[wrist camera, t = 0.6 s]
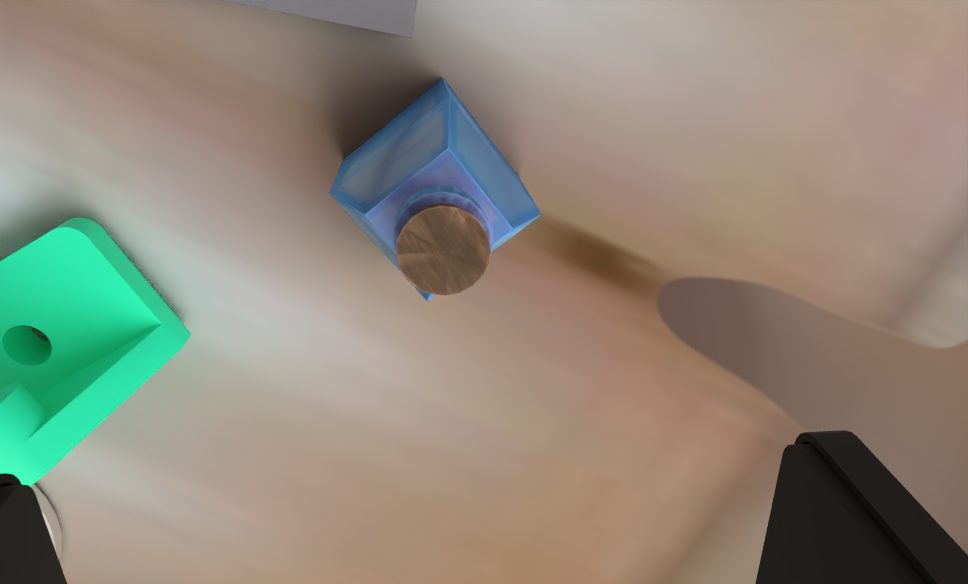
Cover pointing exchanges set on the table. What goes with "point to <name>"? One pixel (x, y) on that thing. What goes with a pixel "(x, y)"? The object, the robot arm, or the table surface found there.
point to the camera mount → (73, 342)
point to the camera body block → (349, 12)
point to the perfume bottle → (434, 194)
